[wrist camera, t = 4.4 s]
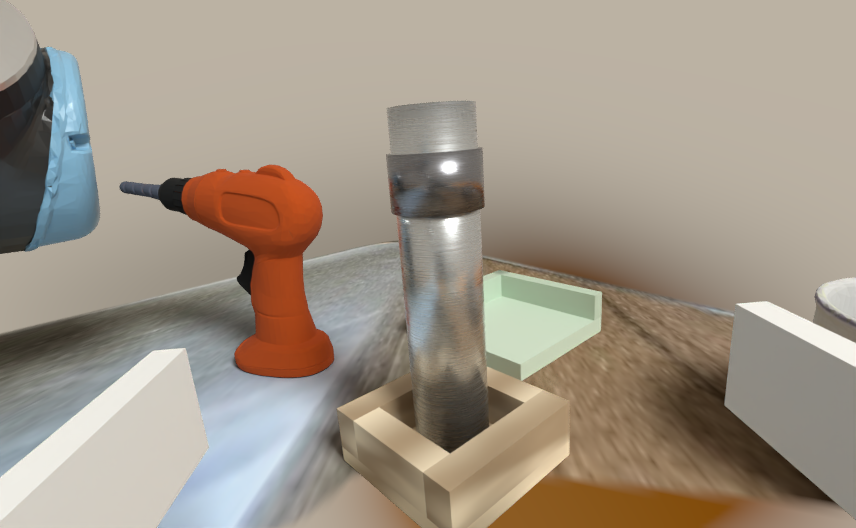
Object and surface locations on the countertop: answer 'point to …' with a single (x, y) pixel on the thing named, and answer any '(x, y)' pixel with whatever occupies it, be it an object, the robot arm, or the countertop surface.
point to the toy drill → (261, 257)
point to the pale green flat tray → (535, 321)
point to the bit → (441, 264)
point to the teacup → (837, 307)
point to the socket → (456, 452)
